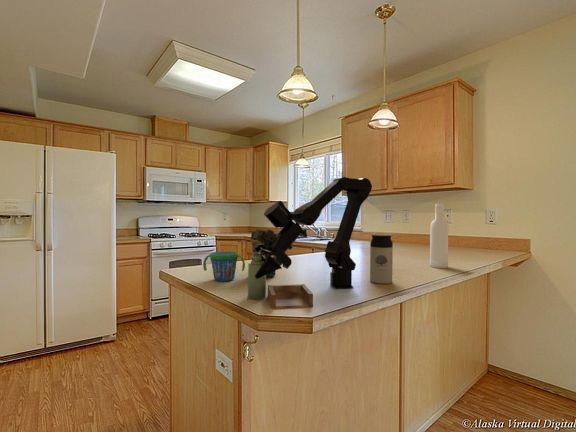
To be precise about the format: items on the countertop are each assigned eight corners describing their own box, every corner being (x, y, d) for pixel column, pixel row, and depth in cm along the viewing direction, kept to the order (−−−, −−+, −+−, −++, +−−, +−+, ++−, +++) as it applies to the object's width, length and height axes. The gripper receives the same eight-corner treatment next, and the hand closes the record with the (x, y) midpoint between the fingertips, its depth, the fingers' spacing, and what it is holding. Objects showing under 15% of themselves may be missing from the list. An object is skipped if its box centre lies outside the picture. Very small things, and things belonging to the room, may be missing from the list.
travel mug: (373, 278, 122) (373, 232, 122) (394, 281, 118) (394, 233, 118) (367, 282, 115) (367, 233, 115) (389, 285, 111) (390, 234, 111)
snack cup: (198, 281, 115) (198, 254, 115) (210, 276, 125) (210, 250, 125) (239, 283, 112) (239, 255, 112) (248, 277, 123) (248, 251, 123)
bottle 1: (264, 294, 98) (265, 251, 98) (266, 299, 93) (267, 254, 93) (247, 295, 97) (248, 251, 97) (248, 299, 92) (249, 254, 92)
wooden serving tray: (304, 295, 97) (304, 284, 97) (313, 307, 85) (313, 293, 85) (267, 297, 95) (267, 285, 95) (271, 308, 84) (271, 295, 84)
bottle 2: (425, 265, 152) (426, 204, 151) (437, 264, 155) (438, 204, 155) (440, 268, 144) (441, 203, 144) (451, 267, 148) (452, 204, 147)
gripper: (258, 219, 105) (225, 254, 100) (282, 221, 88) (244, 263, 83) (279, 242, 108) (248, 276, 103) (306, 247, 92) (271, 289, 87)
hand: (252, 275), depth 94 cm, fingers closed on bottle 1, 5 cm apart
